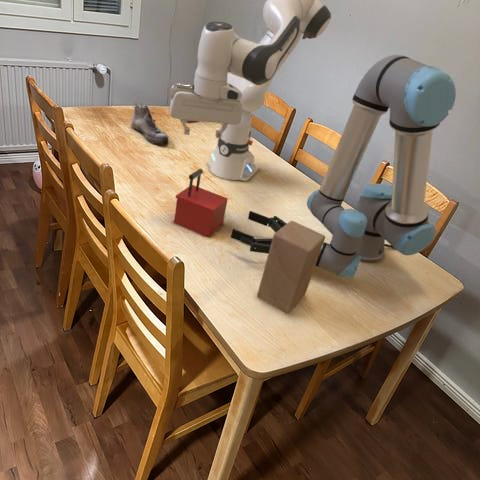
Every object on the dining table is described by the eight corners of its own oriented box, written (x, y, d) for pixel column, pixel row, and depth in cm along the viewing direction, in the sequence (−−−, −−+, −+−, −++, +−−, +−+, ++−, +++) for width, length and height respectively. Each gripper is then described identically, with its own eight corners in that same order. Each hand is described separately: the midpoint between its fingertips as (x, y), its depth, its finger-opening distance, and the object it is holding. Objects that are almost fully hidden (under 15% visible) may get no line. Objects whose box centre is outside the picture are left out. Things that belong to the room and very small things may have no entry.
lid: (175, 197, 135) (178, 173, 130) (191, 186, 143) (194, 163, 138) (213, 212, 131) (217, 188, 127) (227, 200, 140) (232, 177, 135)
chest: (173, 223, 139) (176, 198, 135) (189, 211, 147) (192, 187, 143) (208, 237, 136) (213, 212, 131) (222, 224, 144) (227, 200, 140)
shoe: (172, 146, 190) (175, 119, 184) (147, 147, 185) (150, 118, 178) (151, 125, 207) (154, 99, 201) (129, 125, 202) (130, 98, 195)
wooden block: (289, 314, 113) (310, 251, 102) (255, 296, 116) (273, 233, 106) (304, 296, 120) (326, 235, 110) (273, 279, 124) (291, 219, 113)
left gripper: (172, 85, 115) (167, 136, 122) (247, 95, 121) (238, 143, 128) (170, 79, 120) (165, 128, 127) (242, 88, 126) (233, 135, 133)
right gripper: (290, 280, 121) (221, 252, 126) (313, 241, 141) (253, 217, 146) (297, 258, 117) (226, 230, 122) (320, 221, 137) (257, 198, 142)
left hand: (202, 135), depth 127 cm, fingers open, 8 cm apart
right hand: (240, 223), depth 134 cm, fingers open, 13 cm apart
